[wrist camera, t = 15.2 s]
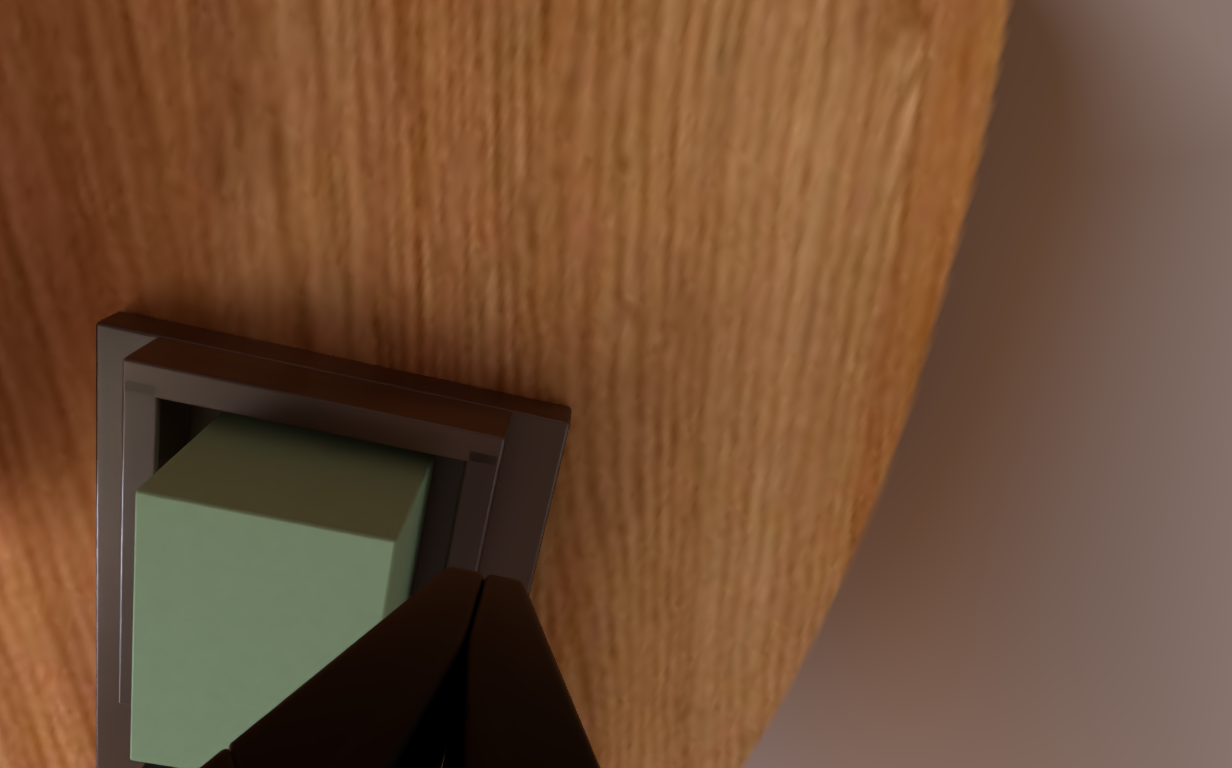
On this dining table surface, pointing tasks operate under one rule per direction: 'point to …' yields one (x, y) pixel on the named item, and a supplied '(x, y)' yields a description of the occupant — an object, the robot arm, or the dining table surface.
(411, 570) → the pad
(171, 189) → the dining table surface
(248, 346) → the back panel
